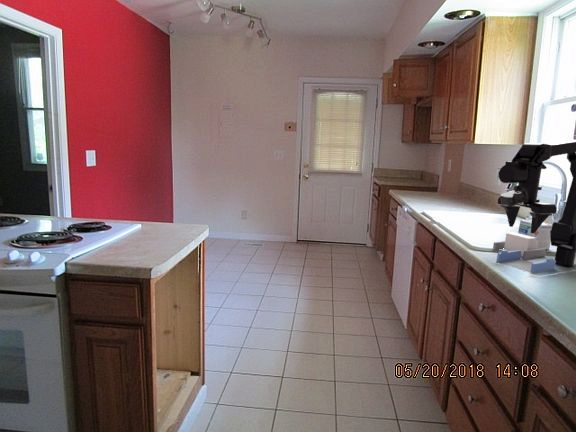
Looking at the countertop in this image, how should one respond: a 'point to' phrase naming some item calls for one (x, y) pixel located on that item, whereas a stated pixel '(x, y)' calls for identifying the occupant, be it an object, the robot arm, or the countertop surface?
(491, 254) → the countertop surface
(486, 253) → the countertop surface
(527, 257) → the grey flat block
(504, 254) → the blue bezel bay
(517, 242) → the pale pink flat box
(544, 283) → the countertop surface
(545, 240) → the light bulb box
